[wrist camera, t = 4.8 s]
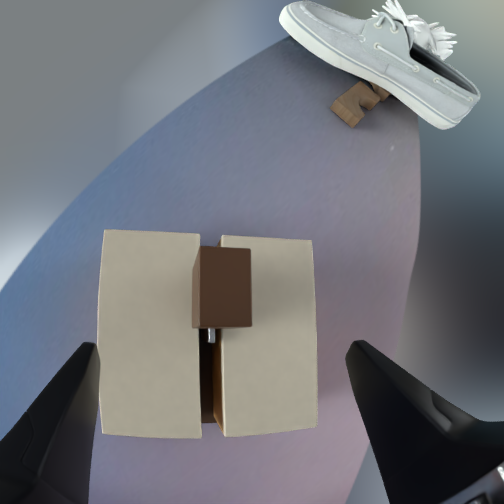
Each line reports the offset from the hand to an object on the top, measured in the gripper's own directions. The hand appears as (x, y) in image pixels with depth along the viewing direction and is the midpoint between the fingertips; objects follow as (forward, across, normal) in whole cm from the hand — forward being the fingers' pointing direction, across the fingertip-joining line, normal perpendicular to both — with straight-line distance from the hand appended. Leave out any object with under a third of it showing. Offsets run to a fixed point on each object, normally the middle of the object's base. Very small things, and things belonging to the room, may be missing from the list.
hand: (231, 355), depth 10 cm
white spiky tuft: (+32, -25, -19) cm, 44 cm away
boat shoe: (+26, -18, -14) cm, 35 cm away
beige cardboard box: (+8, 0, +7) cm, 11 cm away
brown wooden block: (+9, 0, +6) cm, 11 cm away
